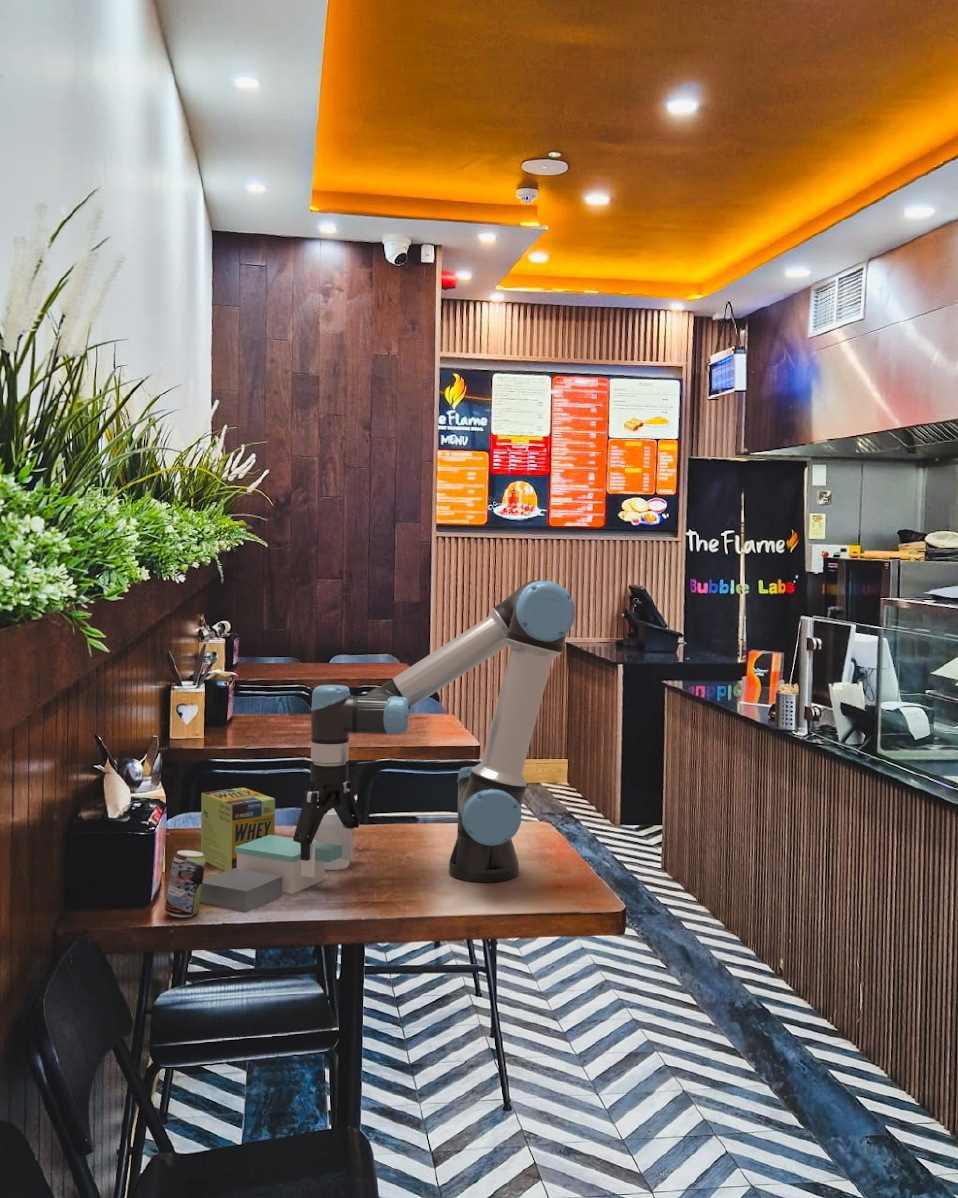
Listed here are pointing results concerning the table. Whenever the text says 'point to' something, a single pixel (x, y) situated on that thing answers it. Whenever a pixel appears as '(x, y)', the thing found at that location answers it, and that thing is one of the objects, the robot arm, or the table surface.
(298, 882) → the tub
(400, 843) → the table surface
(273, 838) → the lid
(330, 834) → the foam cup
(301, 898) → the table surface
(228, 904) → the block
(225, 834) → the protein box
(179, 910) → the beverage can
